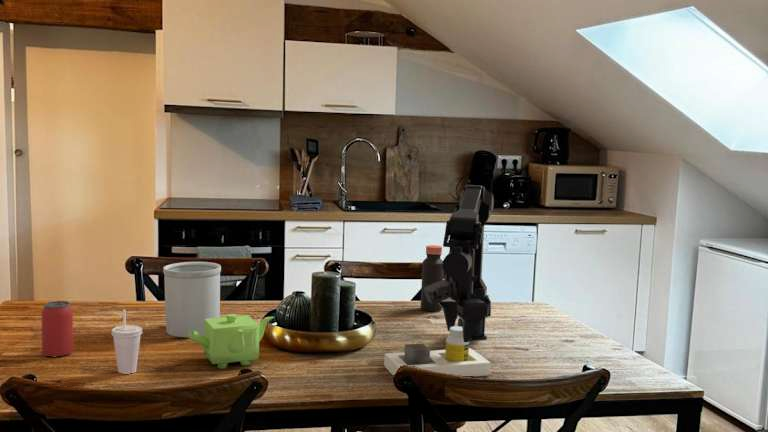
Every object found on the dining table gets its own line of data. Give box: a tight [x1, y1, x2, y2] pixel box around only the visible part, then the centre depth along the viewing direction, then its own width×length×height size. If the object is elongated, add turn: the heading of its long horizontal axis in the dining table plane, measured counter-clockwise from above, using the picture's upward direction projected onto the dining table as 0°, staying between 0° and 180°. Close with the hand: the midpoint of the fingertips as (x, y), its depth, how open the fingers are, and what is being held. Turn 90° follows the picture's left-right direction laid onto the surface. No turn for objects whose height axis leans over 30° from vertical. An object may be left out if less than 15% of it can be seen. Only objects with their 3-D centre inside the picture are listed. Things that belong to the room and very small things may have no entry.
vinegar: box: [420, 244, 445, 313], centre depth 217 cm, size 7×7×20 cm
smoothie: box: [111, 308, 143, 375], centre depth 152 cm, size 6×6×14 cm
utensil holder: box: [162, 261, 222, 338], centre depth 185 cm, size 15×15×18 cm
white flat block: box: [383, 347, 492, 377], centre depth 161 cm, size 22×11×3 cm, turn 108°
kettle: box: [188, 313, 275, 369], centre depth 161 cm, size 15×14×11 cm
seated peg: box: [404, 343, 431, 365], centre depth 159 cm, size 4×4×6 cm
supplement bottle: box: [444, 325, 470, 362], centre depth 162 cm, size 5×5×10 cm
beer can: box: [41, 300, 74, 357], centre depth 162 cm, size 7×7×12 cm
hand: (457, 336), depth 162 cm, fingers open, 9 cm apart
